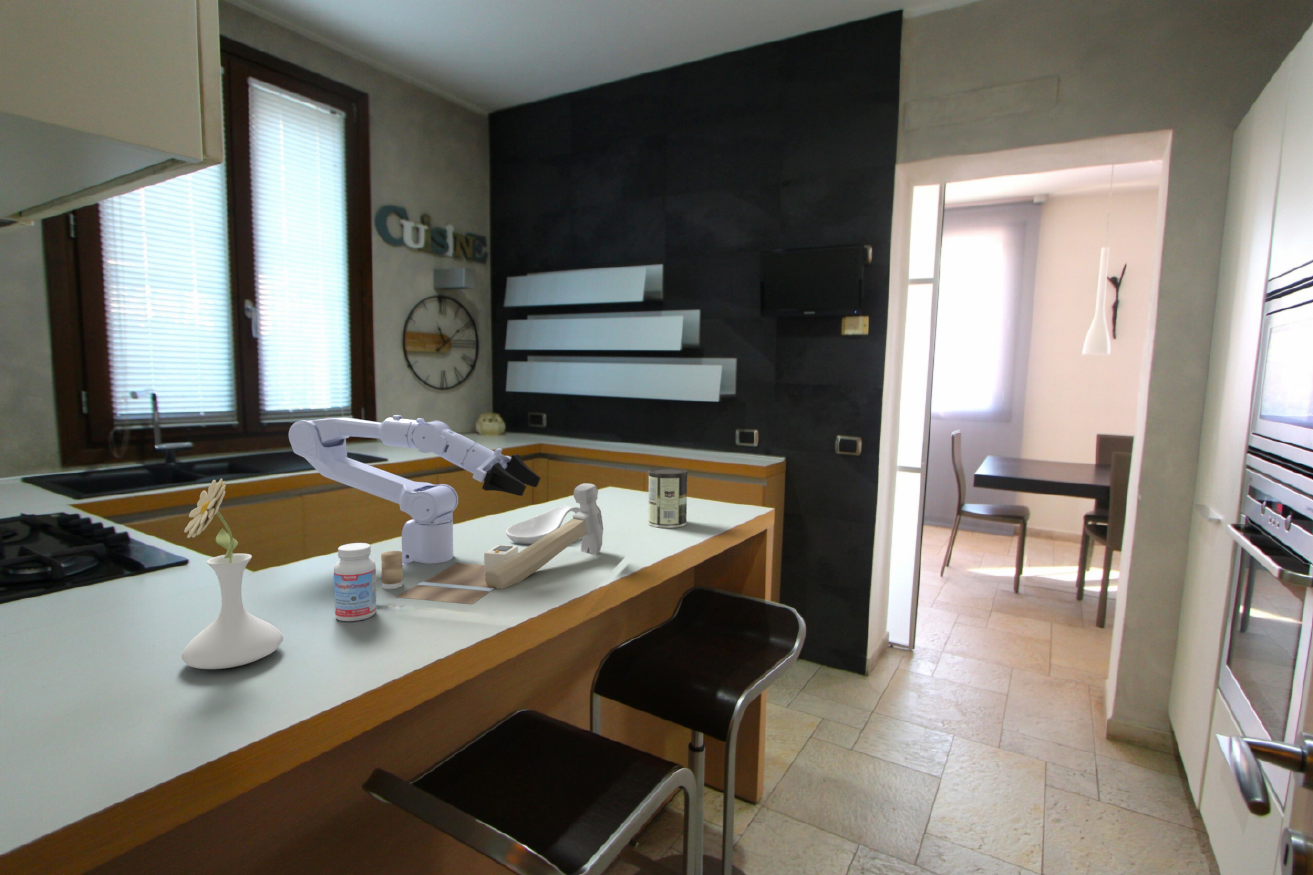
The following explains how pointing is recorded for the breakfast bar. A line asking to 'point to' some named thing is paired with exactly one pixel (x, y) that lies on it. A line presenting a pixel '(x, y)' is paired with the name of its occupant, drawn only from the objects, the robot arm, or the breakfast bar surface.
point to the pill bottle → (354, 583)
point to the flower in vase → (227, 601)
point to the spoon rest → (539, 525)
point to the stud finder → (498, 555)
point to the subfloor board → (453, 585)
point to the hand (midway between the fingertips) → (531, 486)
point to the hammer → (554, 541)
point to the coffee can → (667, 497)
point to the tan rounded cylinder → (392, 569)
